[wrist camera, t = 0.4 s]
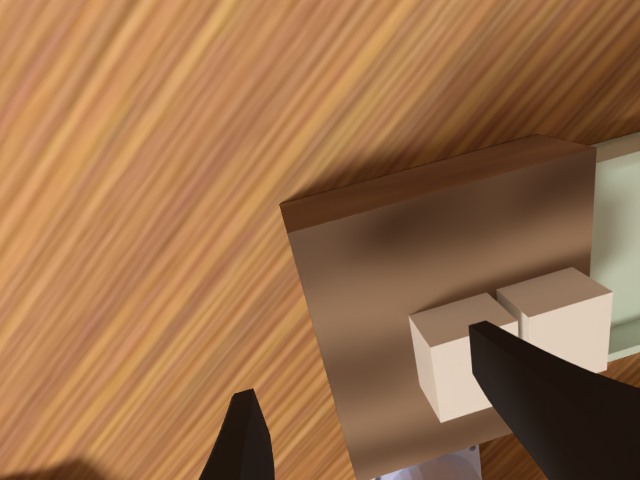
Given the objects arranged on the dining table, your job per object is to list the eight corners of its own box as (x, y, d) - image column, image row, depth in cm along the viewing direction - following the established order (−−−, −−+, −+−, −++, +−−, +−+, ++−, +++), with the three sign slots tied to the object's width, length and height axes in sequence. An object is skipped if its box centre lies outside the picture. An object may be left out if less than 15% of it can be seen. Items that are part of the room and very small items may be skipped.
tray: (681, 305, 29) (719, 326, 26) (541, 349, 28) (567, 374, 26) (713, 110, 23) (765, 115, 21) (541, 158, 22) (575, 169, 20)
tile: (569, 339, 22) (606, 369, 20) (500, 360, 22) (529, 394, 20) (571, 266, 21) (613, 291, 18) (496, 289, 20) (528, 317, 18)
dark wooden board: (538, 366, 28) (582, 410, 25) (342, 428, 27) (357, 483, 24) (537, 134, 22) (596, 147, 18) (279, 204, 21) (287, 233, 17)
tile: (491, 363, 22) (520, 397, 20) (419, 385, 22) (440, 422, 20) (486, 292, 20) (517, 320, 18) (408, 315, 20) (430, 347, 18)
